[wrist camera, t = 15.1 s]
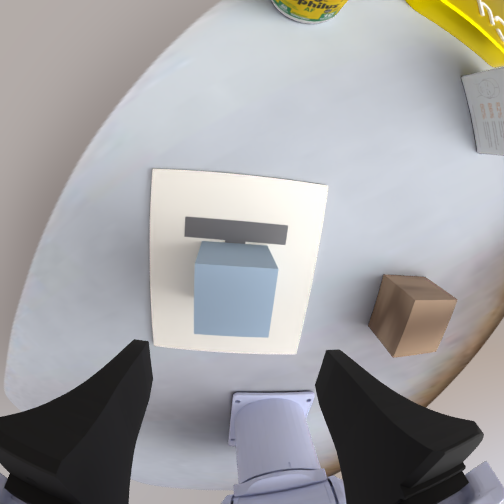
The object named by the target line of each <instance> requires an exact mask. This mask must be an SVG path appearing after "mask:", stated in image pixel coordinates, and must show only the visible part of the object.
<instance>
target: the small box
mask: <svg viewBox="0 0 504 504" xmlns="http://www.w3.org/2000/svg"><path fill="white" fill-rule="evenodd" d="M461 79H462V82H463V86H464V89H465V93H466V97H467V101H468V105H469V109H470V114H471V118H472V123H473V129H474V134H475V140H476V146H477V152H478V153H479V154H489V155H502V156H504V67H501V68H496V69H491V70H487V71H482V72H477V73H473V74H469V75H465V76H462V77H461Z"/></svg>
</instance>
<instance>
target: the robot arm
mask: <svg viewBox="0 0 504 504" xmlns="http://www.w3.org/2000/svg"><path fill="white" fill-rule="evenodd" d="M152 381H153V375H152V367H151V359H150V350H149V341H142V340H135V339H134V340H133V341H132V342H131V343H130V344H128V345H127V346H126V347H125V348H124V349H123V350H122V351H121V352H120V353H119V354H118V355H117V356H116V357H114V358H113V359H112V360H111V361H110V362H109V363H108V364H106V365H105V366H104V367H103V368H102V369H101V370H99V371H98V372H97V373H96V374H94V375H93V376H92V377H90V378H89V379H88V380H87V381H85V382H84V383H82V384H81V385H79V386H78V387H76V388H75V389H73V390H71V391H70V392H68V393H66V394H64V395H62V396H60V397H58V398H56V399H54V400H52V401H50V402H48V403H46V404H44V405H41V406H39V407H36V408H33V409H30V410H27V411H24V412H20V413H16V414H12V415H8V416H3V417H0V463H1V464H2V466H3V467H4V468H5V469H6V470H7V471H8V472H9V473H10V475H9V477H8V479H7V478H6V477H5V476H4V475H2V474H1V473H0V504H128V502H129V486H130V477H131V468H132V461H133V455H134V449H135V444H136V440H137V437H138V434H139V430H140V427H141V424H142V421H143V417H144V414H145V411H146V408H147V405H148V401H149V398H150V392H151V387H152ZM315 387H316V392H317V397H318V401H319V405H320V408H321V411H322V413H323V416H324V419H325V421H326V424H327V426H328V429H329V432H330V434H331V437H332V439H333V442H334V445H335V448H336V451H337V455H338V459H339V463H340V468H341V473H342V478H343V480H342V479H339V478H337V477H336V476H330V477H328V478H327V476H326V473H325V469H324V468H322V469H321V467H320V464H319V461H318V457H317V454H316V451H315V447H314V444H313V441H312V437H311V434H310V431H309V427H308V424H307V421H306V418H307V415H308V412H309V410H310V407H311V405H312V402H313V399H314V396H315V395H314V393H313V392H288V393H240V392H238V393H235V394H233V399H232V409H231V418H230V428H229V437H228V445H230V446H236V453H237V467H238V481H239V484H236V485H233V486H234V494H233V495H227V496H226V497H225V499H224V500H223V501H222V502H221V504H500V503H501V502H502V501H503V500H504V487H503V486H502V484H501V482H500V481H499V479H498V478H497V476H496V475H495V473H494V472H493V470H492V469H491V467H490V466H489V464H488V463H487V461H485V462H483V463H481V464H480V465H478V466H477V467H475V468H474V469H472V470H471V471H470V472H468V473H467V474H466V475H464V473H463V472H462V471H463V470H464V469H465V465H464V463H463V461H464V460H465V459H466V458H467V457H468V456H469V455H470V454H471V453H472V452H473V451H474V450H475V449H476V447H477V446H478V445H479V444H480V442H481V441H482V439H483V436H484V434H483V432H482V431H481V430H480V428H479V427H478V426H477V424H476V423H475V422H474V421H470V420H465V419H460V418H455V417H451V416H447V415H444V414H441V413H438V412H435V411H433V410H430V409H428V408H425V407H423V406H421V405H418V404H416V403H414V402H412V401H410V400H408V399H407V398H405V397H403V396H401V395H400V394H398V393H396V392H395V391H393V390H392V389H390V388H389V387H387V386H386V385H384V384H383V383H381V382H380V381H379V380H377V379H376V378H375V377H373V376H372V375H371V374H369V373H368V372H367V371H366V370H364V369H363V368H362V367H361V366H359V365H358V364H357V363H356V362H355V361H353V360H352V359H351V358H350V357H348V356H347V355H346V354H345V353H343V352H342V351H341V350H326V353H325V356H324V359H323V362H322V365H321V369H320V372H319V375H318V378H317V381H316V384H315ZM237 400H239V401H237Z"/></svg>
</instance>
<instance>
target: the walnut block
mask: <svg viewBox="0 0 504 504" xmlns="http://www.w3.org/2000/svg"><path fill="white" fill-rule="evenodd" d="M456 302H457V299H456V298H454V297H453V296H452V295H450V294H449V293H447V292H446V291H445V290H443V289H442V288H440V287H439V286H437V285H436V284H435V283H433V282H432V281H430V280H429V279H427V278H426V277H418V276H401V275H385V274H384V275H383V278H382V282H381V286H380V289H379V293H378V296H377V299H376V303H375V306H374V309H373V312H372V315H371V319H370V322H369V325H368V326H369V327H370V329H371V330H372V331H373V333H374V334H375V335H376V336H377V338H378V339H379V340H380V341H381V343H382V344H383V345H384V347H385V348H386V349H387V351H388V352H389V353H390V354H391V356H392V357H393V358H394V357H402V356H410V355H417V354H424V353H430V352H436V350H437V348H438V346H439V344H440V342H441V339H442V337H443V335H444V333H445V330H446V328H447V326H448V323H449V321H450V318H451V316H452V313H453V310H454V308H455V305H456Z"/></svg>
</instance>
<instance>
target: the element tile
mask: <svg viewBox="0 0 504 504" xmlns="http://www.w3.org/2000/svg"><path fill="white" fill-rule="evenodd" d="M405 1H406V2H407V3H408V4H409V5H410V6H411V7H412V8H413V9H414V10H415V11H417V12H418V13H420V14H421V15H423V16H424V17H426V18H428V19H429V20H431V21H432V22H434V23H436V24H437V25H439V26H440V27H442V28H443V29H444V30H446V31H447V32H449V33H450V34H452V35H453V36H454V37H456V38H457V39H458V40H460V41H461V42H462V43H464V44H465V45H466V46H467V47H469V48H470V49H471V50H472V51H474V52H475V53H476V54H477V55H479V56H480V57H481V58H482V59H483V60H484V61H485V62H487V63H488V64H489V65H490V66H492V67H494V68H496V67H502V66H504V0H405Z"/></svg>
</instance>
